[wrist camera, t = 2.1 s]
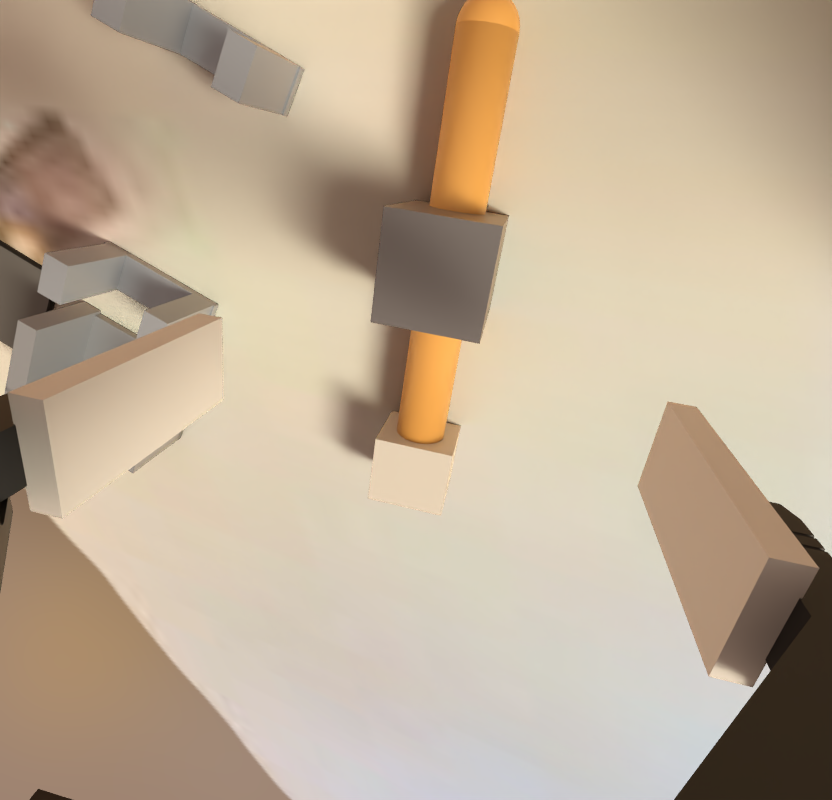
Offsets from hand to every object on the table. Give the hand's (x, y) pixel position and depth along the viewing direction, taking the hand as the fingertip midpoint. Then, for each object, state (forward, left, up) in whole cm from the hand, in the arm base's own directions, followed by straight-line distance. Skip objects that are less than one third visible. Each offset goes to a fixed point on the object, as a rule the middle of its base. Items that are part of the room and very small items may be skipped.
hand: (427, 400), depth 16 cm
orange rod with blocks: (0, -2, -15) cm, 16 cm away
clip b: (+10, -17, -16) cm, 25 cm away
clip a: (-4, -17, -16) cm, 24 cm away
